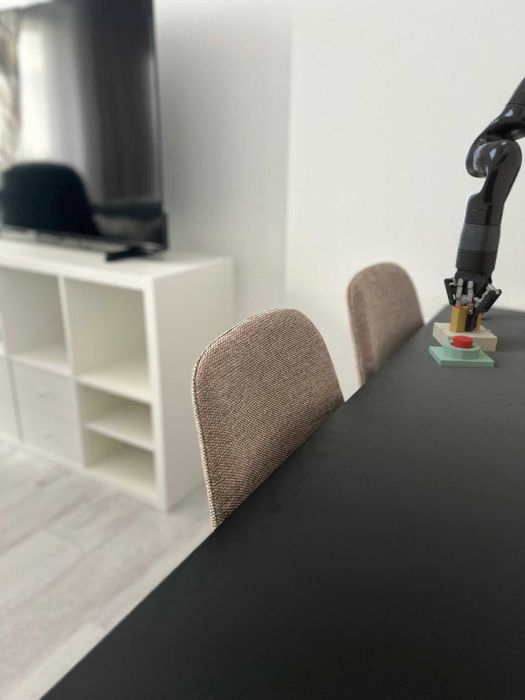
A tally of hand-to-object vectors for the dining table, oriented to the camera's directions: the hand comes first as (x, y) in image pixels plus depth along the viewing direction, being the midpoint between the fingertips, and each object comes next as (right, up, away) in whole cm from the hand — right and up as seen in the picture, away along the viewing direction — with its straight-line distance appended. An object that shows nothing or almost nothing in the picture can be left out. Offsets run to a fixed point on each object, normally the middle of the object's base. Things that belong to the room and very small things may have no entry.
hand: (464, 328), depth 109 cm
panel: (0, -3, +1) cm, 3 cm away
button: (-4, -4, -10) cm, 11 cm away
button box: (-4, -6, -9) cm, 12 cm away
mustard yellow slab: (0, 0, 0) cm, 0 cm away
